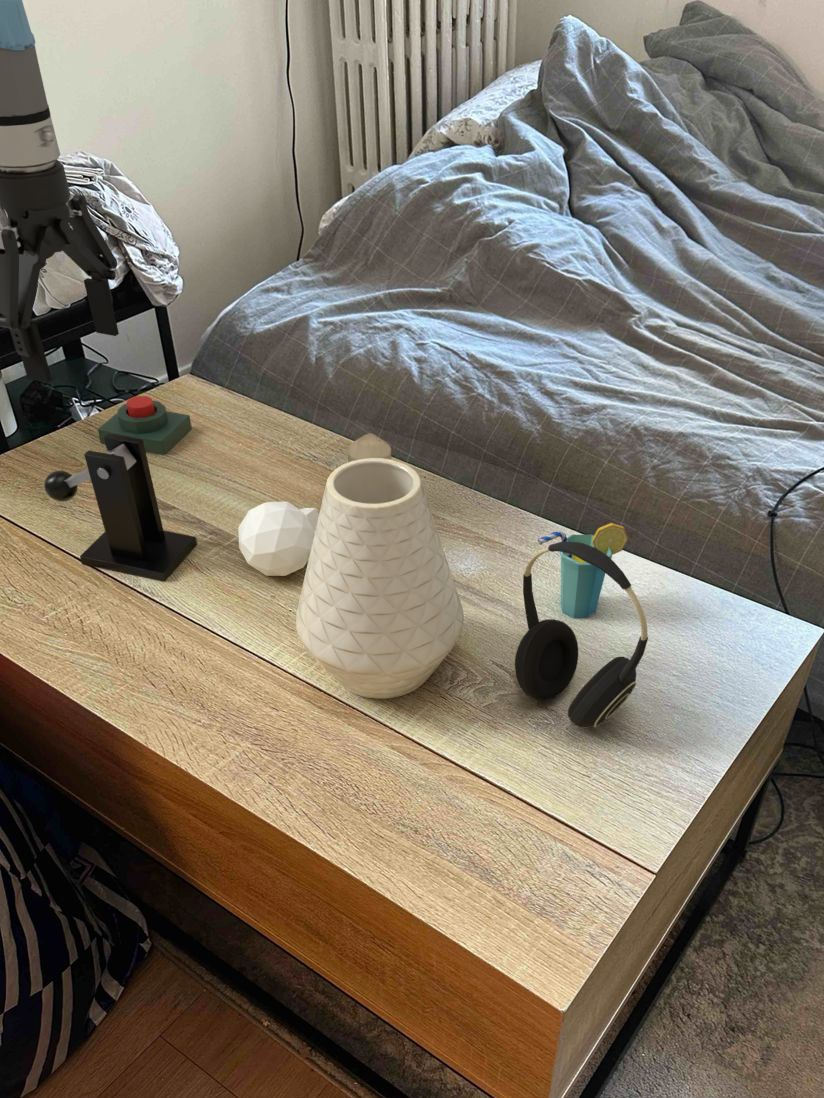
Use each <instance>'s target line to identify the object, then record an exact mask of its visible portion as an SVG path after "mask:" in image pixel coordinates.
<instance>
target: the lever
mask: <svg viewBox="0 0 824 1098" xmlns="http://www.w3.org/2000/svg"><path fill="white" fill-rule="evenodd" d="M105 453H106V454H112V455H117V456H122V457H124V459H125V463H126V468H127V470H128V469H129V468H130V467H131V466H133V465H134V464H135V463H136V462H137V461H136V459H135V458H134V457H133V455H132V454H131V453H130V451H129V450H128V449H127V447H126V446H125V445H124V444H122V445H120V446H117V447H115V448H113V449H111V450H109V451H107V450H106V451H105ZM89 480H91V478H90V475H89V471H88V467H87V468H85V469H83V470H81V471H79V472H76V473H74V474H71V473H69V472H68V471H65V470H55V471H52V472H50V473H49V474H48V475H47V476H46V478H45V479H44V483H43V485H44V486H43V487H44V491H45V493H46V494H47V496H48V497H49V498H50V499H52V500H54V501H56V502H64V503H65V502H68V501H71V500H72V499H74V497H75V496H76V495H77V492H78V485H81V484H83V483H84V482H87V481H89Z"/></svg>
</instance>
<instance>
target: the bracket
mask: <svg viewBox="0 0 824 1098" xmlns="http://www.w3.org/2000/svg"><path fill="white" fill-rule="evenodd" d="M104 440H105V444H104V445H105V449H106V452H107V451H109V450H111V449H113V448H115V447H117V446H120V445H122V444H124V445H125V446H126V447H127V449H128V450H129V451H130V453H131V454H132V455H133V457H134V458H135V459H136V461H137V462H136V463H135V464H134V465H133V466H131V467H130V468H129V469H128V470H127V468H126V463H125V459H124V457H122V456H117V455H112V454H106V452H101V451H96V450H90V449H89V450H87V451H86V452H85V453H83V457H84V460H85V463H86V467H87V468H88V471H89V475H90V478H91V479H90V482H91V484H92V488H93V489H92V490H93V492H94V496H95V499H96V503H97V507H98V511H99V515H100V518H101V521H102V526H103V529H104V531H103V533H102V534H101V535H100V536H98V538H97V539H95V541H93V543H91V544H90V545H89V547H88V548H87V549H85V550H84V551H83V552H82V553H81V554H80V555H79V559H80V562H81V565H83V566H89V567H93V568H98V569H103V570H108V571H113V572H118V573H123V574H127V575H132V576H137V577H142V578H146V579H152V580H155V581H161V582H166V581H167V580H168V579H169V578H170V576H171V575H172V574H174V572H175V571H176V570H177V568H178V567H180V565H181V564H182V563H183V562H184V560H185V559H187V557H188V556H189V555H190V554H191V552H192V551H193V550H194V549H195V548H196V547H197V545H198V542H197V537H196V536H194V535H190V534H189V535H188V534H185V533H178V532H173V531H168V530H164V527H163V522H162V518H161V514H160V510H159V509H160V508H159V505H158V501H157V496H156V492H155V487H154V483H153V478H152V474H151V469H150V465H149V460H148V455H147V452H146V451H145V447H144V443H143V440H142V439H137V438H131V437H126V436H120V435H115V434H109V433H108V434H107V435H106V436H105V437H104Z"/></svg>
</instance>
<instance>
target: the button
mask: <svg viewBox="0 0 824 1098" xmlns="http://www.w3.org/2000/svg"><path fill="white" fill-rule="evenodd" d="M153 401H154V400H153V398H152V397H150V396H147V395H137V396H133V397H131V398H129V399H128V400H126V402H125V404H126V405H127V409H128V413H129V416H130V417H135V418H143V417H148V416H151V415H153V414H154V413H155V408H154V403H153Z"/></svg>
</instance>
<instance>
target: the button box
mask: <svg viewBox="0 0 824 1098" xmlns="http://www.w3.org/2000/svg"><path fill="white" fill-rule="evenodd" d="M153 403H154V408H155V413H154V414H153V415H151V416H148V417H143V418H135V417H130V416H129V413H128V409H127V405H126V403H124V404H123V405H121V406H120V407H119V408H117V412H116V413H115V414H114V415H113V416H111V417H110V418H109V419H107V421H105V422H104V423H103V424H102V425H100V426H99V427H98V428H97V434H98V438H99V441H100V444H102V445H103V444H104V445H106V444H105V440H104V437H105V436H106V435H107V434H108V433H109V434H115V435H120V436H126V437H131V438H137V439H142V440H143V443H144V447H145V451H146V453H152V454H157V455H162V456H165V455H166V454H167V453H169V451H171V449H172V448H174V447H175V446H176V445H177V444H178V443H179V442H180V441H181V440H182V439H183V438H184V437H186V435H187V434H188V433H189V432H191V430H192V429H193V426H192V422H191V416H190V414H185V413H181V412H179V413H178V412H173V411H167V407H166V405H165V404H163V403H161V402H160V401H159V400H153Z"/></svg>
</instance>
